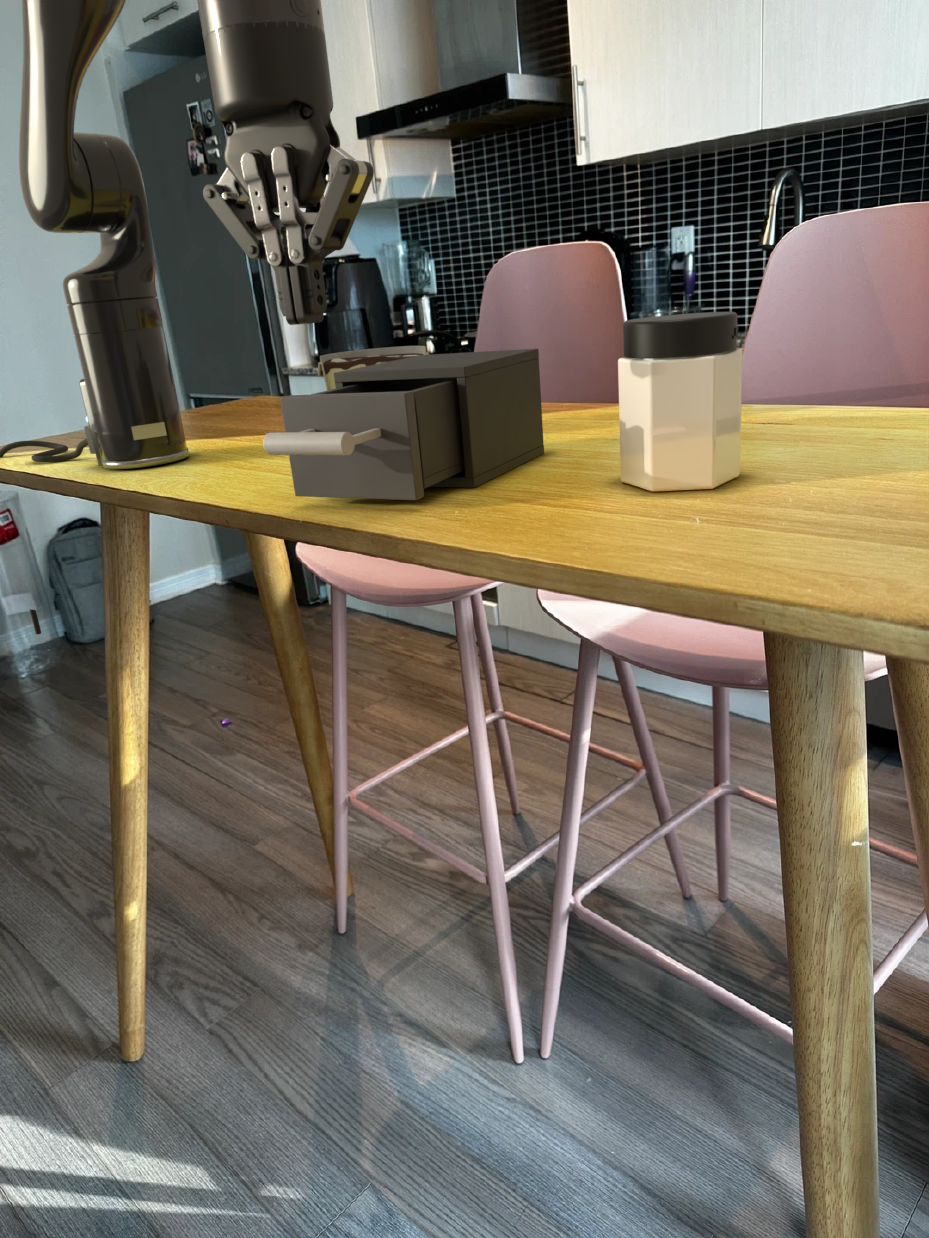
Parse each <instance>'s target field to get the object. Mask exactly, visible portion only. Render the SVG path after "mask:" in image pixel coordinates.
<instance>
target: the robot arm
mask: <svg viewBox="0 0 929 1238" xmlns="http://www.w3.org/2000/svg"><path fill="white" fill-rule="evenodd" d="M196 1H197V9H198V14H199V20H200V26H201V31H202V32H201V33H202V38H203V45H204V50H205V57H206V63H207V69H208V74H209V75H208V76H209V81H210V88H211V94H212V100H213V106H214V111H215V115H216V116H217V118H218V119H219V121H220V122H221V124H222V126H223V128H224V131H225V146H224V152H223V160H224V163H225V166H226V167H225V169H224V171H223V172H222V174H221V175H220V177H219V179H218V180H217V182H216V183H215V184H214V183H213V184H212V183H207V184H206V185H205V186H204V187H203V189H202V196H203V199H204V200H205V202H206V203H207V204H208V206H209V208H210V209H211V210H212V212H213V213H214V214H215V215H216V216H217V218H218V219H219V221H220V222H221V223H222V224H223V227H225V229H226V230H227V232H228V233H229V234H230V235H231V237H232V238H233V239H234V240H235V242H236V243H237V244H238V246H239V247H240V248H241V250H242V251H243V252H244V254H245V255H246V257H248V258H249V259H250V260H259V261H263V262H265V263H268V264H269V265H270V266H271V268H272V269H273V272H274V277H275V285H276V290H277V299H278V304H279V305H278V306H279V310H280V312H281V314H282V317H285V320H286V323H287V324H288V325H290V326H295V325H296V326H299V325H308V324H309V325H310V324H318V323H322V322H323V321H324V318H325V317H324V316H325V315H324V314H325V313H327V308H328V301H327V296H326V295H327V294H326V287H325V280H324V270H323V263H324V260H325V259H326V258H327V257H328V256H330V255H331V254H332V253H334V252H335V251H341V250H342V249H344V247H345V245H346V242H347V240H348V238H349V235H350V234H351V230H352V228H353V227H354V224H355V222H356V218H357V216H358V214H359V211H360V209H361V207H362V204H363V202H364V200H365V198H366V195H367V193H368V190H369V187H370V185H371V184H372V180H373V179H374V174H375V169H374V166H373V165H372V164H371V162H369V161H365V160H358V159H356V158H355V157H353V156H352V155H351V154H349V153H348V152H346V151H345V149H342V148H341V139H340V136H339V134H338V132H337V129H336V128H335V126H334V124H333V121H332V119H331V118H332V117H331V113H332V112H333V109H334V96H333V90H332V82H331V74H330V73H331V71H330V64H329V57H328V50H327V49H328V48H327V41H326V40H327V39H326V33H325V24H324V17H323V8H322V0H196ZM126 3H127V0H21V16H22V19H21V20H22V75H21V76H22V77H21V92H20V93H21V95H20V114H19V115H20V116H19V136H18V137H19V138H18V139H19V140H18V169H19V170H18V171H19V180H20V182H19V183H20V189H21V193H22V199H23V202H24V205H25V208H26V210H27V212H28V215H29V216H30V218H31V220H32V221H33V222H34V224H35V225H36V226H37V227H38V228H40V229H41V230H43V231H45V232H48V233H53V234H99V239H100V250H99V252H98V254H97V256H96V257H95V258H94V259H93V260H92V261H90V262H89V263H88V264H87V265H85V266H82V267H81V268H79V269H77V270H75V271H72V272H69V274H67V275H65V276H64V277H63V280H62V289H63V294H64V298H65V299H64V300H65V303H66V305H67V310H68V315H69V320H70V325H71V329H72V333H73V337H74V341H75V345H76V349H77V355H78V359H79V363H80V368H81V372H82V377H83V378H81V379H80V380H79V389H80V393H81V397H82V403H83V406H84V410H85V415H86V417H85V421H86V422H87V423H88V425H84V427H83V428H84V432H85V436H86V438H84V439H83V440H81V441H80V442H79V443H77V446H76V448H75V450H74V451H72V452H69V453H66V452H68V451H69V446H67V445H65V444H62V443H56V442H52V441H51V442H50V441H44V440H19V441H14V442H10V443H8V444H6V445H4V446H3V447H1V448H0V459H2V458H3V457H4V456H5V455H6V454H7V453H8V452H10V451H11V450H14V449H18V448H23V447H24V448H25V447H39V448H41V447H42V448H47V449H49V450H45V451H41V452H38V453H35V454H33V455H31V460H32V462H34V463H58V462H65V461H66V462H67V461H71V460H75V459H77V458H79V457H80V456H81V455H82V453H83V451H84V449H85V448H86V447H87V446H88V450H89V453H90V454H91V455H95V458H96V463H97V466H98V467H103V468H104V469H109V470H128V469H140V468H149V467H154V466H161V465H165V464H170V463H174V462H178V461H182V460H184V459H187V458H188V457H189V456H190V451H189V447H188V445H187V441H186V435H185V431H184V426H183V418H182V413H181V409H180V404H179V400H178V399H179V398H178V394H177V389H176V384H175V379H174V374H173V369H172V363H171V359H170V354H169V348H168V343H167V337H166V335H165V334H166V333H165V328H164V324H163V318H162V313H161V308H160V303H159V298H158V292H157V288H156V287H157V286H156V273H157V272H156V270H157V269H156V268H157V266H156V264H157V263H156V256H155V250H154V249H155V248H154V241H153V235H152V230H151V223H150V216H149V215H150V214H149V208H148V201H147V195H146V189H145V183H144V178H143V174H142V170H141V167H140V165H139V162H138V159H137V158H136V155H135V153H134V151H133V149H132V148H131V146H130V145H129V144H128V143H127V142H126V141H125V140H124V139H123V138H122V137H119V136H117V135H112V134H105V133H104V134H103V133H90V132H75V122H76V112H77V106H78V100H79V95H80V90H81V88H82V84H83V81H84V78H85V77H86V74H87V72H88V70H89V68H90V66H91V65H92V62H93V60H94V59H95V56H97V54H98V52H99V51H100V49H101V47H103V44H104V42H105V41H106V39H107V38H108V36H109V34H110V33H111V31H112V30H113V28H114V26H115V24H116V23H117V21H118V19H119V18H120V15H121V14H122V12H123V10H124V8H125V5H126ZM327 186H328V187H327ZM301 209H305V211H302V210H301ZM277 213H279V214H277ZM64 453H66V454H64ZM29 613H30V617H31V621H32V625H33V629H34V632H35V635H41V634H42V629H41V625H40V622H39V618H38V614H37V610H36V609H29Z"/></svg>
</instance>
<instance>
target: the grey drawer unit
mask: <svg viewBox="0 0 929 1238" xmlns="http://www.w3.org/2000/svg"><path fill="white" fill-rule="evenodd" d="M433 378H457V384H458V395H459V407H460V418H461V430H462V441H463V453H464V464H465V471H462V472H460V473H458V474H456V475H453V476H451V477H449V478H447V479H445V480H442V481H440V482H438V483H436V484H434V485H431V486H429V487H428V488H464V489H465V488H467V489H470V488H471V489H475V488H478V487H479V486H481V485H483V484H485V483H487V482H489V481H491V480H493V479H495V478H497V477H500V476H501V475H504V474H506V473H508V472H509V471H511V470H514V469H515V468H518V467H519V466H521V465H523V464H525V463H527V462H529V461H531V460H534V459H536V458H538V457H539V456H542V455H544V454H545V445H544V443H545V442H544V428H543V427H544V426H543V425H544V424H543V408H542V393H541V373H540V351H539V348H524V349H523V348H522V349H506V350H505V349H503V350H491V351H490V350H487V351H470V352H453V353H452V352H451V353H435V354H429V355H419V356H414V357H409V358H404V359H399V360H394V361H390V362H385V363H380V364H375V365H370V366H365V367H360V368H355V369H350V370H346V371H341V372H336V373H334V379H335V382H336V383H335V387H336V388H341V387H345V386H349V385H354V384H358V383H362V382H367V381H385V380H409V379H433Z"/></svg>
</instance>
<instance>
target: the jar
mask: <svg viewBox="0 0 929 1238" xmlns="http://www.w3.org/2000/svg"><path fill="white" fill-rule="evenodd" d="M622 332H623V333H622V335H623V336H622V337H623V357H620V358H618V360H617V374H618V375H617V378H618V379H617V380H618V381H617V382H618V384H617V385H618V417H619V418H618V420H619V422H618V424H619V425H618V426H619V461H620V462H619V464H620V481H621V482H622V483H624V484H628V485H631V486H634V487H637V488H640V489H643V490H647V491H649V492H674V491H695V490H713V489H715V488H717V487H719V486H721V485H723V484H725V483H727V482H729V481H732V480H733V479H736V478H738V477H739V476H740V474H741V472H740V471H741V436H742V435H741V434H742V393H743V350H742V349H741V348H738V338H739V325H738V313H737V312H735V311H710V312H709V311H708V312H692V313H679V314H669V315H668V314H667V315H657V316H648V317H639V318H633V319H628V320H625V321H624V322H623V323H622Z"/></svg>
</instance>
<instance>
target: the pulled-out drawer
mask: <svg viewBox="0 0 929 1238" xmlns="http://www.w3.org/2000/svg"><path fill="white" fill-rule="evenodd" d="M279 401H280V406H281V413H282V419H283V426H284V431H283V432H280V431H279V432H278V431H277V432H268V433H266V434H265V435H264V437H263V440H262V447H263V450H264V452H265V453H266V454H267V455H270V456H288V457H289V458H288V460H289V465H290V471H291V477H292V483H293V488H294V489H293V491H294V496H295V497H301V498H303V497H305V498H333V499H334V498H335V499H337V498H338V499H361V500H362V499H365V500H366V499H367V500H395V501H396V500H397V501H418V500H420V499H423V498H424V497H425V492H424V491H425V489H427V488H430V487H429V486H431V485H434V484H436V483H438V482H440V481H442V480H445V479H447V478H449V477H451V476H453V475H456V474H458V473H460V472H462V471H465V464H464V453H463V441H462V430H461V418H460V407H459V395H458V384H457V378H433V379H409V380H385V381H367V382H362V383H358V384H354V385H349V386H345V387H341V388H336V389H332V390H328V391H327V390H324V391H320V392H316V393H315V392H314V393H311V394H291V395H290V394H288V395H284V396H281V397H279Z"/></svg>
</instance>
